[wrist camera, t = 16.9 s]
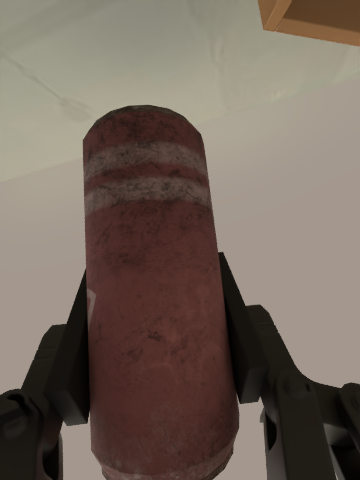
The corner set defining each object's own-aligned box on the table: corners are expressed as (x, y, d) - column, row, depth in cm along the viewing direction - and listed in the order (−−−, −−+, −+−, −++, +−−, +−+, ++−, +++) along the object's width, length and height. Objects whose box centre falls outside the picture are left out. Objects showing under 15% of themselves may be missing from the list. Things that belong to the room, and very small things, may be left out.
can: (161, 179, 17) (181, 394, 14) (66, 154, 13) (70, 451, 10) (229, 134, 12) (276, 435, 10) (116, 72, 8) (146, 565, 6)
